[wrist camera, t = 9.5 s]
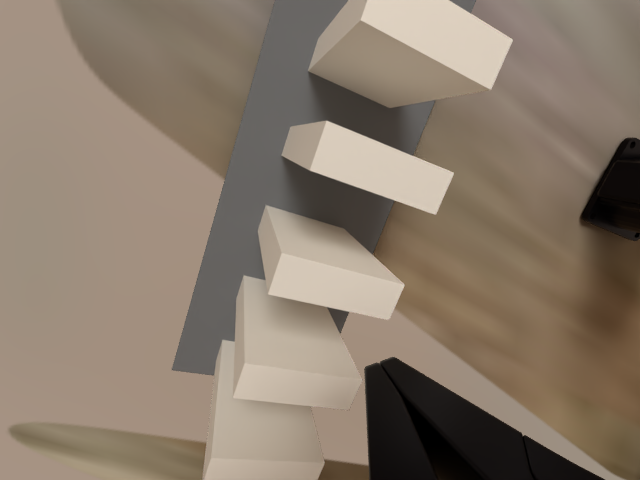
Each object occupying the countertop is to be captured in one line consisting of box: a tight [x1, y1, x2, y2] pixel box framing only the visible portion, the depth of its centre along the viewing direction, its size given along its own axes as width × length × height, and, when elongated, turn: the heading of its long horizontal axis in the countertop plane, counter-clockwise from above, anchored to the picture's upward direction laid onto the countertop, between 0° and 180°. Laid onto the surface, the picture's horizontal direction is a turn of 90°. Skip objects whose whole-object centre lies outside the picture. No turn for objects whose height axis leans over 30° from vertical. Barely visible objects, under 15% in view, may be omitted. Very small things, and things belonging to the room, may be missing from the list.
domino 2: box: [258, 205, 405, 320], centre depth 16 cm, size 2×5×8 cm, turn 70°
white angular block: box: [308, 0, 513, 108], centre depth 14 cm, size 2×5×8 cm, turn 70°
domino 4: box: [202, 340, 325, 480], centre depth 18 cm, size 2×5×8 cm, turn 70°
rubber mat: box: [172, 0, 476, 375], centre depth 19 cm, size 10×26×1 cm, turn 160°
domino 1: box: [281, 121, 454, 215], centre depth 15 cm, size 2×5×8 cm, turn 70°
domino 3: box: [233, 276, 362, 410], centre depth 17 cm, size 2×5×8 cm, turn 70°
